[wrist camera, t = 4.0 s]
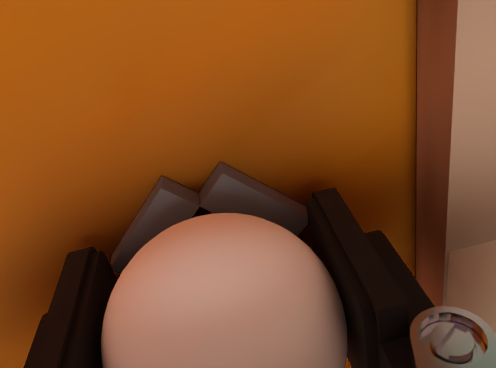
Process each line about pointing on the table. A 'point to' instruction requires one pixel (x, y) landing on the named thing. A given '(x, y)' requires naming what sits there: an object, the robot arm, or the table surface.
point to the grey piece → (207, 208)
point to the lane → (457, 155)
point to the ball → (224, 301)
